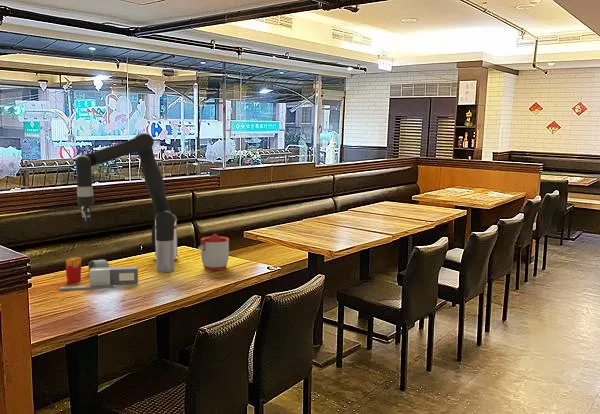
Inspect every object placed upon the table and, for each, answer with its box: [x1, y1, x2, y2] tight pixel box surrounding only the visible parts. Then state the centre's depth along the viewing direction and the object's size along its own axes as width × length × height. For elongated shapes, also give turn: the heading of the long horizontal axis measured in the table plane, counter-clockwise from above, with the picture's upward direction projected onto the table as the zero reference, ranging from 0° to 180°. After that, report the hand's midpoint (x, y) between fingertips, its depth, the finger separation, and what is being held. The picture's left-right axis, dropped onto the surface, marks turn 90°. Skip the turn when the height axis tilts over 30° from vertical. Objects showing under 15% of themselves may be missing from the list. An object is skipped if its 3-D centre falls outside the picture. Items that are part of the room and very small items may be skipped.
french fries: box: [65, 256, 82, 284], centre depth 268 cm, size 8×4×12 cm, turn 152°
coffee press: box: [151, 213, 180, 261], centre depth 313 cm, size 17×16×30 cm
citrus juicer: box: [197, 233, 230, 272], centre depth 296 cm, size 16×17×20 cm
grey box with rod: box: [59, 265, 139, 292], centre depth 261 cm, size 35×10×8 cm, turn 103°
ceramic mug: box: [87, 259, 110, 273], centre depth 284 cm, size 11×8×8 cm
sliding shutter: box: [89, 269, 110, 286], centre depth 258 cm, size 9×1×8 cm, turn 103°
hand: (87, 226), depth 273 cm, fingers open, 8 cm apart
